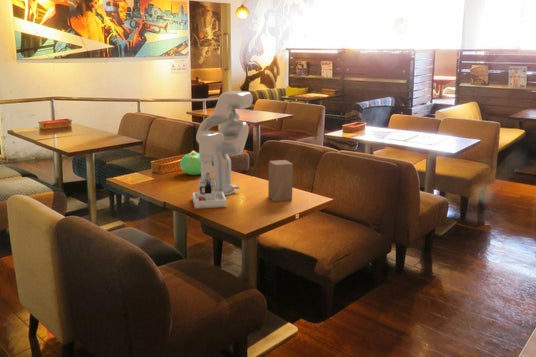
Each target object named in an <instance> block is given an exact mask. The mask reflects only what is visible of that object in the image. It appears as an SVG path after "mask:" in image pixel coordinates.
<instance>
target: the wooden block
mask: <svg viewBox="0 0 536 357" xmlns="http://www.w3.org/2000/svg"><path fill="white" fill-rule="evenodd" d="M293 175H294V164H293V163H292V162H290V161H289V160H288V159H287V160H286V159H278V160H277V159H276V160H269V161H268V192H267V193H268V198H270V199H271V200H272V201H273V202H274V203H276V202H287V201H292V200H293V183H294V182H293V181H294V179H293V177H294V176H293Z"/></svg>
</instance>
